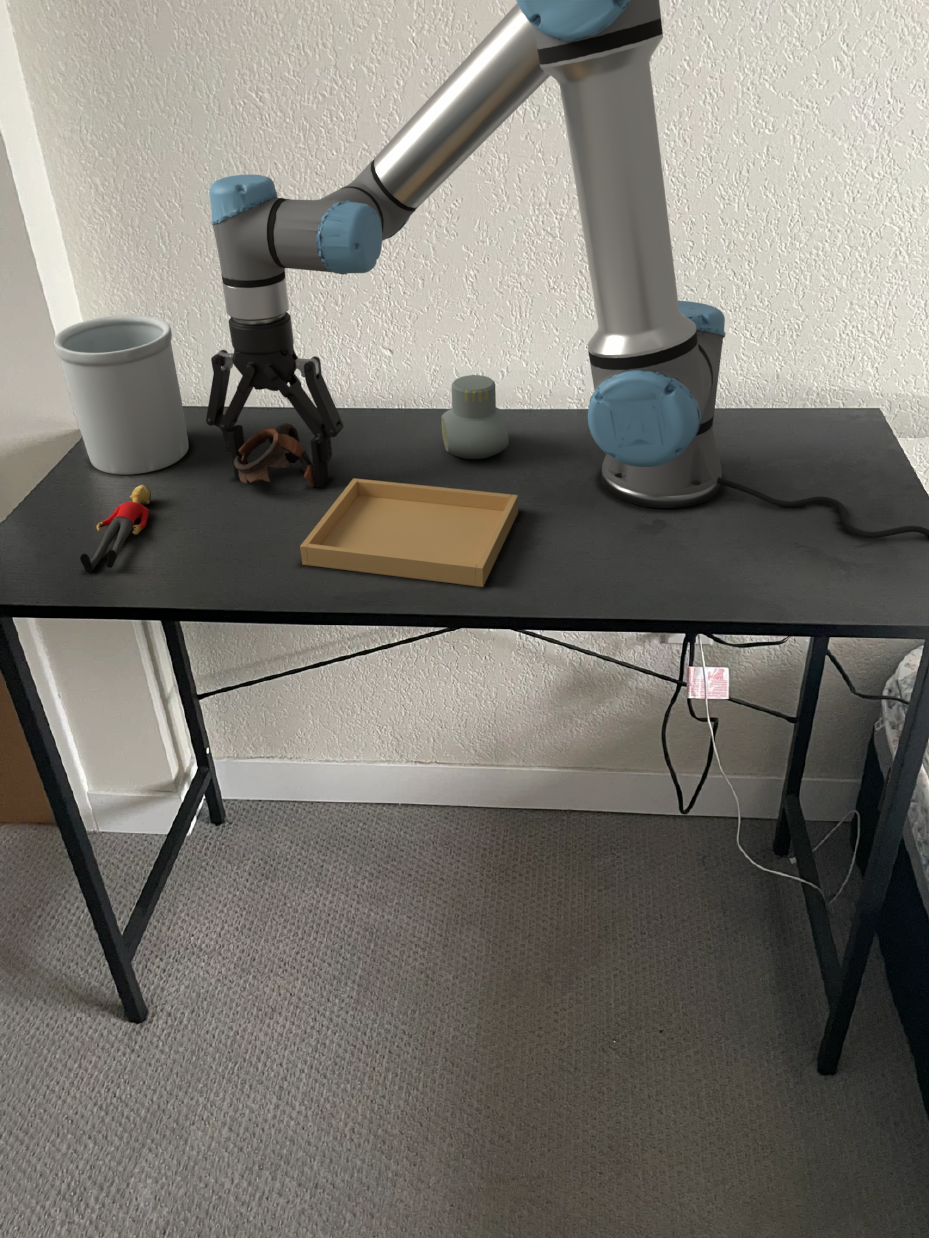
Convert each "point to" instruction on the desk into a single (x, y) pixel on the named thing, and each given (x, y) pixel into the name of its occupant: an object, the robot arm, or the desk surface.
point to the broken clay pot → (273, 454)
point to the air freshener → (474, 420)
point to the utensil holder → (125, 392)
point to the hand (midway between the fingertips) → (281, 478)
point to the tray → (412, 532)
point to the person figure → (120, 527)
